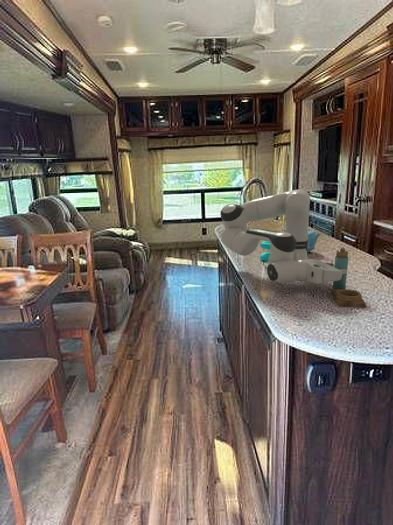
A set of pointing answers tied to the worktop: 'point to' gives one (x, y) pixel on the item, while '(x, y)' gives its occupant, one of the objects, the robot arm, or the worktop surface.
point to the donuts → (267, 246)
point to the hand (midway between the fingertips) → (339, 267)
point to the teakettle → (312, 239)
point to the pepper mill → (341, 263)
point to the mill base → (348, 298)
